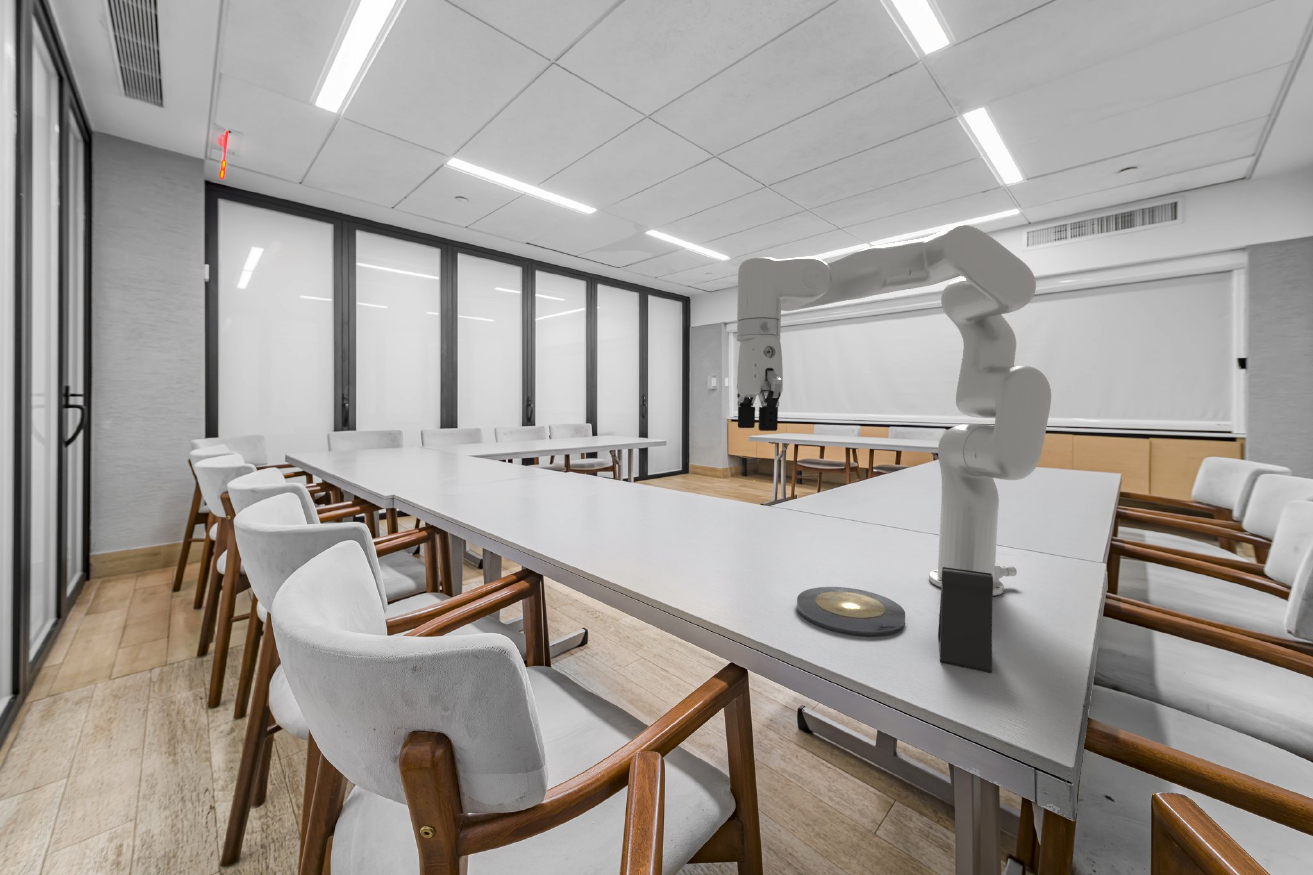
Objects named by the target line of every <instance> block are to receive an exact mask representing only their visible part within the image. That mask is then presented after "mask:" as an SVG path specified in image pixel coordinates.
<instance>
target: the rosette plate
mask: <svg viewBox="0 0 1313 875" xmlns="http://www.w3.org/2000/svg"><path fill="white" fill-rule="evenodd" d="M796 597H797V598H796V609H797V612H798V614H799V615H800V616H801V618H802V619H803V620H804V619H805V620H806V621H807V622H809V623H811V624H812V625H815V626H817V627H819V628H821V629H825V630H829V631H832V632H835V633H838V634H845V635H851V636H856V637H857V636H858V637H883V636H890V635H893V634H896V633H898V632H901V631H902V630H903V629H904V628H905V626H906V625H905V624H906V612H905V609H904V608H903V607H902V606H901V604H899V603H897V602H896V601H894V600H892V599H890V598H888V597H886V596H883V595H880V594H879V593H878V594H877V593H876V592H875V593H874V592H872V591H867V590H864V589H860V588H859V589H858V588H851V587H844V586H818V587H813V588H809V589H806V590H805V589H804V591H802V592H800V593H799V594H798V596H796Z"/></svg>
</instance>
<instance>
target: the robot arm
mask: <svg viewBox="0 0 1313 875" xmlns="http://www.w3.org/2000/svg"><path fill="white" fill-rule="evenodd" d="M737 271H738V272H737V317H736V319H737V320H736V321H737V323H736V324H737V326H736V331H737V332H736V342H739V352H738V361H737V362H738V363H737V377H736V378H737V381H736V382H737V383H736V389H737V394H736V395H737V396H736V397H737V399H738V400H737V427H738V429H754V428H755V426H756V406H754V404H755V401H756V399H757V396H758V399H759V402H760V406H759V407H758V431H761V432H765V431H766V432H776V431H777V430H778V427H779V426H778V422H779V420H778V418H779V407H780V398H781V396H782V393H783V390H784V389H783V388H784V387H783V385H784V382H783V381H784V377H783V376H784V375H783V368H784V367H783V353H782V352H783V351H782V344H781V333H782V332H781V328H782V327H781V325H782V324H781V322H782V320H781V319H782V312H783V311H784V312H791V311H798V310H804V309H810V308H815V307H820V306H821V307H822V306H825V305H829V304H834V303H839V302H840V303H841V302H844V301H853V300H860V299H864V298H868V297H873V296H880V295H882V294H889V293H894V292H898V291H899V292H900V291H905V290H912V289H917V288H922V287H923V288H924V287H929V286H933V285H936V284H939V283H942V282H946V281H949V280H952V279H955V278H958V277H959V278H958V279H955V280H953V281H951V282H950V283H948V284H947V285H946V286H945V287H944V289H943V290H942V293H941V297H940V300H941V301H940V302H941V308H942V309H943V312H944V314H945V315H946V316H947V317H948V318H949V319H950V321H951V322H952V323H953V325H955V326H956V327H957V330H958V331H959V333H960V335H961V338H962V341H963V349H962V350H963V352H962V358H961V364H960V369H959V377H958V382H957V387H956V392H955V404H956V407H957V410H958V411H959V412H960V413H962V415H966V416H967V417H971V418H981V419H982V418H983V419H994V425H990V424H977V423H976V424H973V423H972V424H969V423H968V424H960V425H956V426H953V427H951V428H949V429H947V430H946V431H945V432H944V433H943V434H942V436H941V437H940V439H939V442H938V445H937V446H938V447H937V448H938V449H937V454H938V455H937V456H938V457H937V458H938V463H939V468H940V476H941V497H940V498H941V500H940V502H941V503H940V517H939V518H940V520H939V538H938V539H939V542H938V543H939V544H938V558H937V559H938V563H937V569H934V570H932V571H930V572H928V580H929V582H931V583H932V584H933V585H935V586H936V587H938V588H941V585H942V568H943V567H947V568H954V569H962V570H969V571H976V572H984V573H991V574H992V576H993V595H992V597H993V596H999V595H1002V594H1003V593H1004V592H1005V591H1004V590H1005V588H1004V587H1005V585H1004V584H1003V582H1001V581H1000V579H1002V578H1003V577H1015V576H1016V575H1017V574H1018V573H1017V572H1018V571H1017V568H1015V566H1013V565H1012V566H1011V565H1008V566H1001V565H1000V564H999V563H996V560H997V559H996V558H997V557H996V556H997V554H996V553H997V539H998V538H997V537H998V536H997V535H998V524H999V523H998V520H999V518H998V517H999V510H1000V509H999V508H1000V506H999V504H1000V500H999V499H1000V498H999V490H998V488H997V485H996V482H995V480H994V479H1000V480H1003V481H1004V480H1005V481H1019V480H1022V479H1026V478H1027V477H1029V476H1030V475H1031V474H1032V473H1033V472H1034V471H1035V469H1036V468H1037V467H1038V465H1039V462H1040V459H1041V456H1042V452H1043V448H1044V442H1045V436H1046V431H1047V427H1048V422H1049V416H1050V410H1051V404H1052V389H1051V385H1050V382H1049V380H1048V378H1047V376H1046V375H1045V374H1044V373H1043V372H1042V371H1040V370H1039V369H1038V368H1036V367H1033V366H1028V365H1015V361H1016V351H1017V338H1016V334H1015V331H1014V330H1013V328H1012V327H1011V326H1010V324H1009V322H1008V321H1007V320H1006V319H1005V317H1004V316H1003V315H1005V314H1009V313H1012V312H1016V311H1019V310H1021V309H1023V308H1024V307H1026V306H1027V305H1028V304H1029V303H1031V301H1032V299H1033V298H1034V296H1035V293H1036V291H1037V281H1036V277H1035V275H1034V273H1033V271H1032V269H1031V268H1030V267H1029V266H1028V265H1027V264H1026V263H1025V262H1024V261H1023V260H1022V259H1020V258H1019V257H1018V256H1016V255H1015V254H1014V253H1013V252H1011V251H1010V250H1009V249H1007V248H1006V247H1005V246H1003V245H1002V244H1001V243H1000V242H999V241H998V240H996V239H995V238H993V237H992V236H990V235H989V234H987V233H986V232H984V231H983V230H981V229H979V228H977V227H975V226H972V225H970V224H969V225H968V224H963V223H962V224H961V223H959V224H956V225H953V226H950V227H948V228H946V229H944V230H941V231H940V232H937V233H936V234H933V235H930V236H928V237H924V238H919V239H913V240H908V241H907V240H906V241H900V242H895V243H888V244H883V245H882V244H881V245H876V246H875V245H874V246H871V247H867V248H864V249H862V250H858V251H855V252H853V253H851V254H848V255H846V256H844V257H841V258H839V259H836V260H835V261H830V262H828V263H826V262H825V261H823V260H822V259H820V258H817V257H813V256H802V257H793V258H783V259H780V258H779V259H776V258H773V257H768V256H767V257H764V256H759V257H752V258H748V259H745V260H744V261H742V262H740V265H739V267H738V270H737Z"/></svg>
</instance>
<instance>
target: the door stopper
mask: <svg viewBox="0 0 1313 875" xmlns="http://www.w3.org/2000/svg"><path fill="white" fill-rule="evenodd" d="M940 588H941V589H940V598H939V599H940V602H939V614H938V615H939V616H938V628H937V630H938V631H937V640H938V642H937V643H938V644H937V645H938V653H939V662H940V663H944V664H949V665H954V666H958V667H962V668H967V669H968V668H969V669H972V670H976V671H982V672H986V673H993V596H992V595H993V576H992V574H991V573H984V572H976V571H969V570H962V569H954V568H947V567H943V568H942V585H941V587H940Z"/></svg>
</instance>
